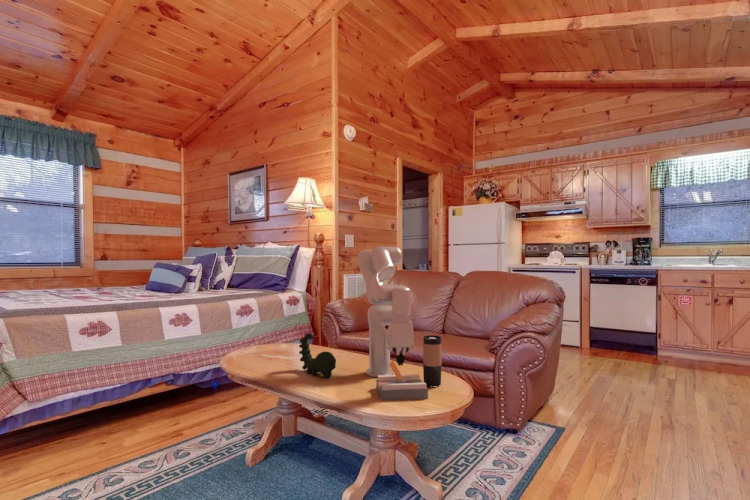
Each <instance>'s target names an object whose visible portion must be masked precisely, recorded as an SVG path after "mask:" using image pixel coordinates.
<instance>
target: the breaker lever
mask: <svg viewBox="0 0 750 500" xmlns="http://www.w3.org/2000/svg"><path fill="white" fill-rule="evenodd" d="M389 365H390V369H391V370H393V375H396V377H397V380H398V382H399V383H405V380H404V378H403V377H402V375H403V374H401V372H400V369H398V367H397V365H396V364H395V362H394V360H392V361H391V360H390V363H389Z"/></svg>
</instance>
